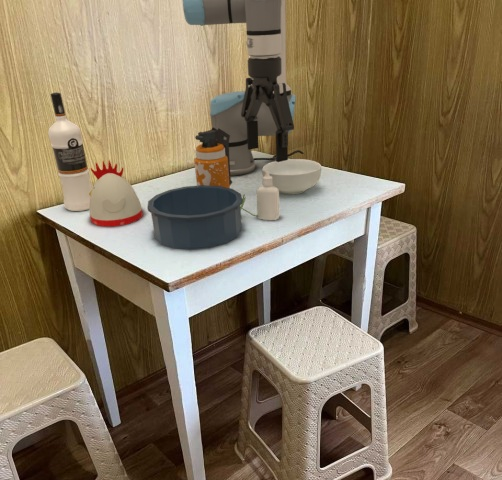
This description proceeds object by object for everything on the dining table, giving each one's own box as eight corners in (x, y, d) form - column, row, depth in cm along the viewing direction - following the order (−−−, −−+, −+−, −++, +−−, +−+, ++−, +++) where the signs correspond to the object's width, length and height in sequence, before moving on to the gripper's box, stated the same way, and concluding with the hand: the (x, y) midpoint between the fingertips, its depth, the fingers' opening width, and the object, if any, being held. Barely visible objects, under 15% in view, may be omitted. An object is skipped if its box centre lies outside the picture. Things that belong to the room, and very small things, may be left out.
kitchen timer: (90, 211, 145) (78, 157, 136) (139, 205, 147) (130, 151, 139) (91, 229, 133) (78, 171, 125) (145, 222, 136) (135, 164, 128)
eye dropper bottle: (267, 213, 138) (266, 167, 131) (282, 218, 134) (281, 171, 127) (255, 217, 136) (253, 171, 129) (269, 223, 132) (268, 175, 125)
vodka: (92, 198, 154) (67, 88, 138) (102, 207, 148) (78, 92, 131) (61, 205, 150) (32, 93, 133) (70, 214, 143) (41, 97, 127)
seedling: (250, 236, 137) (228, 224, 136) (261, 211, 139) (240, 199, 137) (258, 228, 130) (235, 215, 129) (270, 201, 132) (248, 188, 131)
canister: (192, 205, 145) (184, 131, 134) (220, 195, 152) (214, 123, 141) (214, 212, 140) (207, 135, 129) (242, 201, 146) (238, 126, 135)
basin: (218, 208, 142) (216, 179, 138) (260, 235, 125) (259, 203, 121) (140, 227, 133) (134, 197, 129) (173, 258, 117) (168, 225, 112)
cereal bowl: (306, 178, 161) (307, 155, 157) (330, 194, 148) (331, 169, 144) (255, 186, 157) (254, 162, 153) (274, 203, 144) (274, 177, 140)
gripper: (223, 53, 122) (229, 146, 134) (280, 63, 104) (281, 169, 116) (251, 50, 125) (254, 141, 137) (310, 59, 107) (309, 163, 119)
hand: (267, 154), depth 126 cm, fingers open, 13 cm apart
